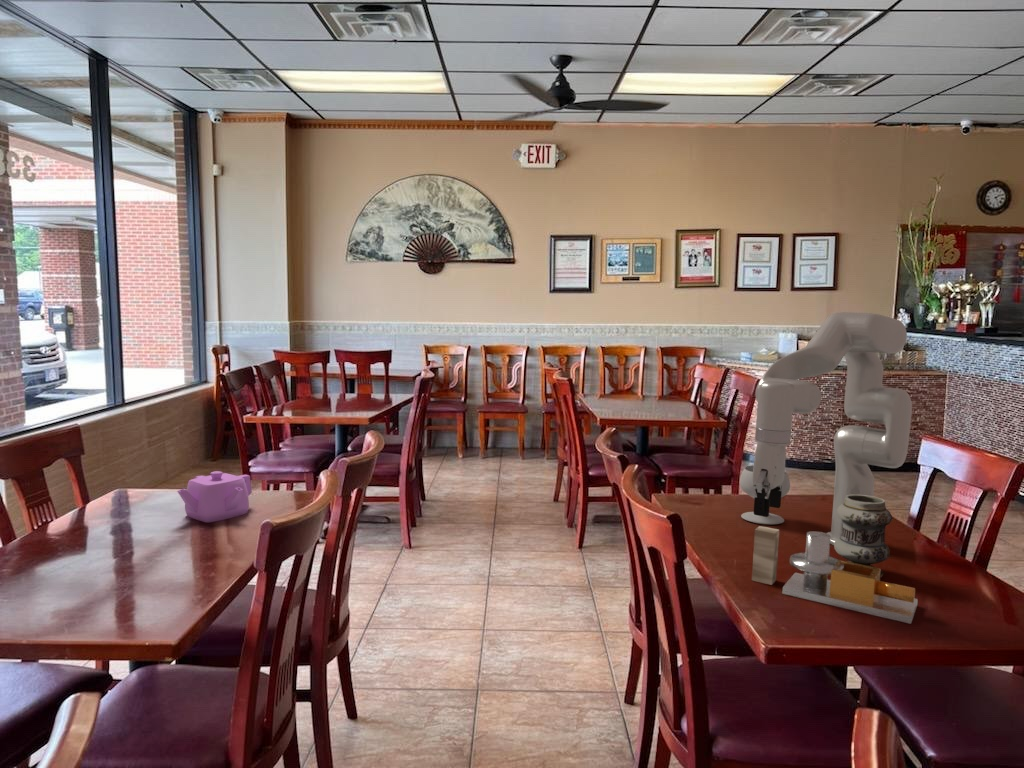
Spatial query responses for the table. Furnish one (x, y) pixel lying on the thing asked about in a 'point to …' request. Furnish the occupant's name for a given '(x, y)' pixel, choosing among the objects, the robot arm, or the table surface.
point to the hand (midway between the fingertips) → (767, 511)
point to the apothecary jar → (863, 530)
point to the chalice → (750, 490)
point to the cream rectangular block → (765, 555)
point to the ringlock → (847, 583)
